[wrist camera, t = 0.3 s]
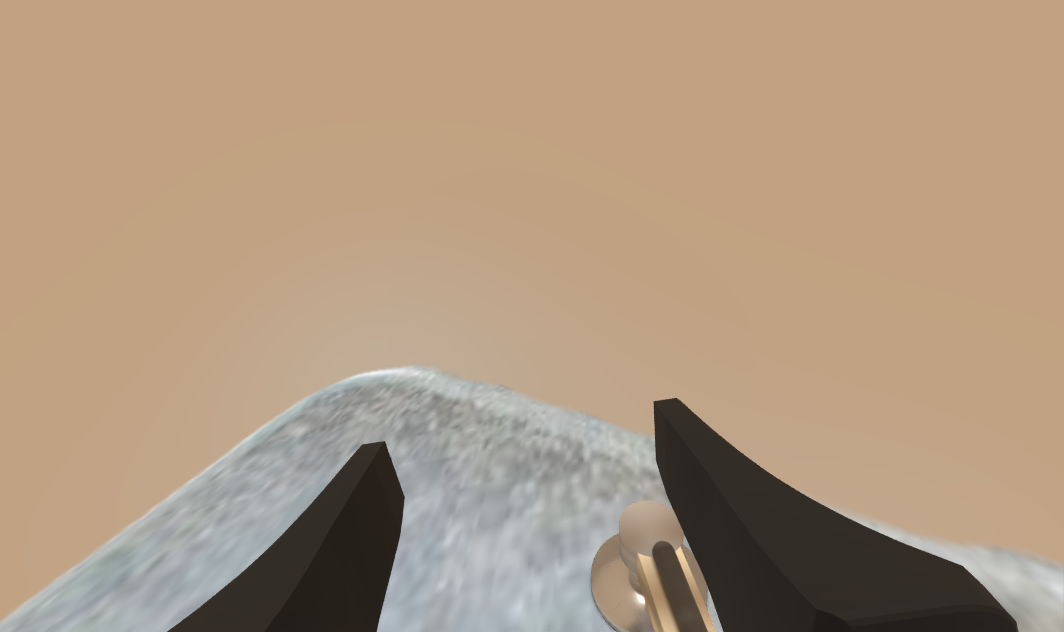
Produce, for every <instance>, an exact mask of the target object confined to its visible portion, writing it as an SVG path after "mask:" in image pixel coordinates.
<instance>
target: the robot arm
mask: <svg viewBox="0 0 1064 632" xmlns="http://www.w3.org/2000/svg"><path fill="white" fill-rule="evenodd" d="M654 422H655V447H656V462H657V465H658V468H659V472H660V475H661V478H662V481H663V484H664V488H665V491H666V494H667V496H668V499H669V501H670V503H671V506H672V508H673V510H674V512H675V515H676V517H677V519H678V521H679V523H680V526H681V528H682V530H683V532H684V535H685V537H686V539H687V541H688V543H689V546H690V548H691V550H692V552H693V554H694V557H695V559H696V561H697V563H698V565H699V568H700V570H701V572H702V574H703V577H704V579H705V582H706V584H707V586H708V589H709V591H710V594H711V597H712V600H713V603H714V606H715V609H716V611H717V614H718V617H719V620H720V623H721V626H722V629H723V632H1018V628H1017V623H1016V621H1015V620H1014V619H1013V618H1012V617H1011V615H1010V614H1009V613H1008V612H1007V611H1006V610H1005V609H1004V608H1003V607H1002V606H1001V605H1000V603H999V602H998V601H997V600H996V599H995V598H994V597H993V596H992V595H991V594H990V592H989V591H988V590H987V589H986V588H985V587H984V586H983V585H982V584H981V583H980V582H979V581H978V580H977V579H976V578H975V577H974V576H973V575H972V574H971V573H970V572H969V571H967V570H966V569H965V568H964V567H963V566H961V565H959V564H956V563H954V562H951V561H948V560H946V559H943V558H940V557H938V556H935V555H933V554H930V553H927V552H925V551H922V550H919V549H917V548H914V547H912V546H909V545H906V544H904V543H902V542H899V541H897V540H894V539H892V538H890V537H888V536H885V535H883V534H881V533H879V532H876V531H874V530H872V529H870V528H867V527H865V526H863V525H861V524H859V523H857V522H855V521H853V520H851V519H849V518H847V517H845V516H843V515H841V514H839V513H837V512H835V511H833V510H831V509H829V508H827V507H825V506H824V505H822V504H820V503H818V502H816V501H814V500H813V499H811V498H809V497H807V496H805V495H804V494H802V493H800V492H799V491H797V490H795V489H794V488H792V487H791V486H789V485H787V484H785V483H784V482H782V481H781V480H779V479H777V478H776V477H774V476H773V475H771V474H770V473H769V472H767V471H766V470H764V469H763V468H761V467H760V466H759V465H757V464H756V463H754V462H753V461H752V460H750V459H749V458H748V457H746V456H745V455H744V454H742V453H741V452H740V451H738V450H737V449H736V448H735V447H733V446H732V445H731V444H730V443H728V442H727V441H726V440H725V439H724V438H722V437H721V436H720V435H718V434H717V433H716V432H715V431H714V430H713V429H711V428H710V427H709V426H708V425H707V424H706V423H705V422H703V421H702V420H701V419H700V418H699V417H698V416H697V415H696V414H694V413H693V412H692V411H691V410H690V409H689V408H688V407H687V406H686V405H685V404H683V403H682V402H681V401H680V400H679V399H677V398H673V399H667V400H660V401H654ZM404 498H405V497H404V494H403V491H402V488H401V486H400V483H399V480H398V477H397V474H396V471H395V469H394V466H393V463H392V460H391V457H390V455H389V452H388V449H387V446H386V443H385V441H383V442H376V443H369V444H362V446H361V447H360V448H359V449H358V450H357V451H356V452H355V453H354V455H353V456H352V457H351V458H350V459H349V460H348V462H347V463H346V464H345V465H344V466H343V468H342V469H341V470H340V471H339V472H338V473H337V475H336V476H335V477H334V478H333V479H332V481H331V482H330V483H329V484H328V485H327V486H326V487H325V489H324V490H323V491H322V492H321V493H320V494H319V496H318V497H317V498H316V499H315V500H314V501H313V502H312V504H311V505H310V506H309V507H308V508H307V509H306V510H305V511H304V512H303V513H302V514H301V515H300V516H299V517H298V519H297V520H296V521H295V522H294V523H293V524H292V525H291V526H290V527H289V528H288V529H287V530H286V531H285V532H284V533H283V534H282V536H281V537H280V538H278V539H277V540H276V541H275V542H274V543H273V544H272V545H271V546H270V547H269V548H268V549H267V550H266V551H265V552H264V553H263V554H262V555H261V556H260V557H259V558H258V559H256V560H255V561H254V562H253V563H252V564H251V565H250V566H249V567H248V568H247V569H246V570H244V571H243V572H242V573H241V574H240V575H239V576H238V577H236V578H235V579H234V580H233V581H231V582H230V583H229V584H228V585H227V586H225V587H224V588H223V589H222V590H220V591H219V592H218V593H217V594H216V595H214V596H213V597H212V598H211V599H209V600H208V601H207V602H206V603H205V604H203V605H202V606H201V607H200V608H198V609H197V610H196V611H194V612H193V613H192V614H190V615H189V616H188V617H186V618H185V619H184V620H182V621H181V622H180V623H178V624H177V625H176V626H174V627H173V628H172V629H170V630H169V631H167V632H377V627H378V623H379V618H380V614H381V610H382V606H383V602H384V598H385V594H386V590H387V587H388V583H389V579H390V575H391V571H392V567H393V563H394V559H395V554H396V550H397V546H398V542H399V538H400V533H401V525H402V518H403V508H404Z"/></svg>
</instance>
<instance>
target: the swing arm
mask: <svg viewBox="0 0 1064 632" xmlns="http://www.w3.org/2000/svg"><path fill="white" fill-rule="evenodd" d="M683 538H684V532H683V530H682V528H681V526H680V523H679V521H678V519H677V517H676V515H675V512H674V511H673V510H672V509H671V508H670V507H668V506H666V505H664V504H662V503H659V502H656V501H647V500H645V501H638V502H635V503H633V504H631V505H629V506H628V507H627V508H626V509H625V510H624V511H623V512H622V514H621V517H620V521H619V553H620V557H621V559H622V561H623V563H624V564H625V566H626V567H627V568H628V569H629V570H630V571H631V572H633V573H634V574H636V575H637V578H638V581H639V584H640V587H641V590H642V593H643V596H644V600H645V603H646V606H647V609H648V612H649V615H650V618H651V622H652V625H653V628H654V631H655V632H716V629H715V627H714V625H713V622H712V620H711V618H710V615H709V613H708V611H707V608H706V606H705V604H704V601H703V599H702V596H701V594H700V592H699V589H698V587H697V585H696V582H695V580H694V578H693V575H692V573H691V570H690V568H689V566H688V563H687V561H686V559H685V556H684V554H683V552H682V546H683Z"/></svg>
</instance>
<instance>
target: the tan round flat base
mask: <svg viewBox="0 0 1064 632" xmlns="http://www.w3.org/2000/svg"><path fill="white" fill-rule="evenodd" d="M682 552H683V554H684V556H685V559H686V561H687V563H688V566H689V568H690V570H691V573H692V575H693V578H694V580H695V582H696V585H697V587H698V589H699V592H700V594H701V596H702V599H703V601H704V604H705V606H706V602H707V584H706V582H705V579H704V577H703V574H702V572H701V570H700V568H699V565H698V563H697V561H696V559H695V557H694V555H693V554H692V553H691V552H690V551H689V550H688V549H687V548H686V547H685V546H684V545H683V546H682ZM591 584H592V593H593V597H594V601H595V603H596V606H597V608H598V610H599V612H600V613H601V615H602V616H603V618H604V619H605V620H606V622H607V623H608V624H609V625H610V626H611V627H612V628H613V629H615V630H616V631H617V632H655V631H654V628H653V625H652V622H651V618H650V615H649V612H648V609H647V606H646V603H645V600H644V596H643V593H642V590H641V587H640V584H639V581H638V578H637V575H636V574H634V573H633V572H631V571H630V570H629V569H628V568H627V567H626V566H625V564H624V563H623V561H622V559H621V557H620V553H619V534H617V535H615V536H613V537H611V538H610V539H609V540H607V541H606V542H605V543H604V544H603V545H602V546H601V548H600V549H599V550H598V552H597V554H596V556H595V558H594V561H593V564H592V571H591Z"/></svg>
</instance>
